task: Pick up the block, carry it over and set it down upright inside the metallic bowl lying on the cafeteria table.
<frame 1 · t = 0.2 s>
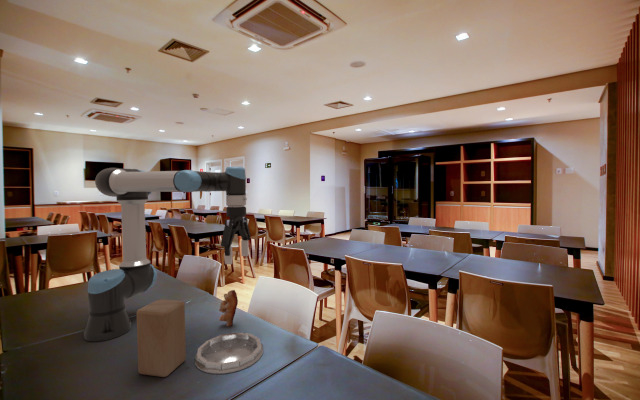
hand: (237, 259, 120), 28 cm above the table, fingers open, 13 cm apart
block: (163, 367, 95), on the table
white domed cylinder: (171, 342, 110), on the table
metallic bowl: (230, 354, 102), on the table
figurine: (228, 326, 123), on the table
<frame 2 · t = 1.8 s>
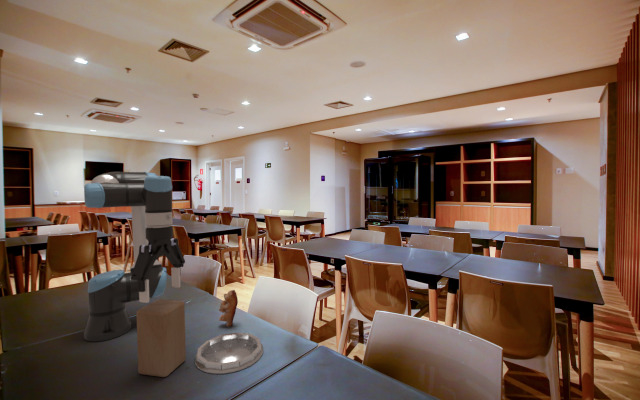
hand: (161, 294, 94), 23 cm above the table, fingers open, 13 cm apart
nothing on the table moved.
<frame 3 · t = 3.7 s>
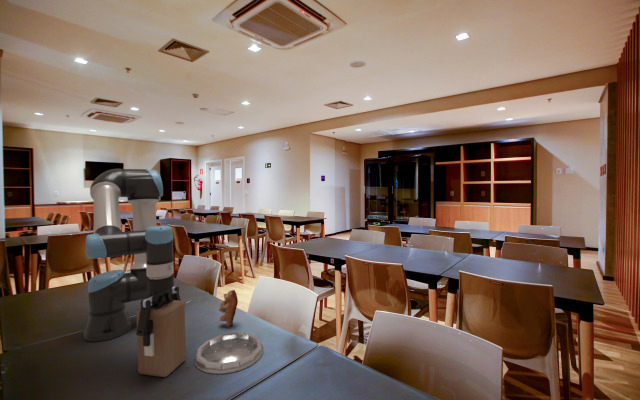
hand: (162, 346, 95), 7 cm above the table, fingers closed on block, 10 cm apart
block: (163, 367, 95), on the table, touching gripper
everything else where it was.
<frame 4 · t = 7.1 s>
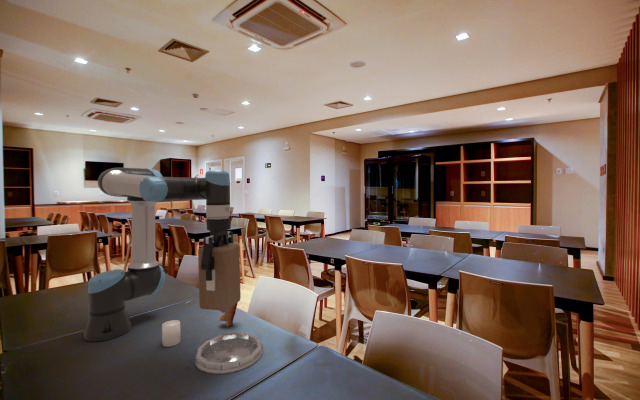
hand: (220, 284, 100), 24 cm above the table, fingers closed on block, 10 cm apart
block: (220, 305, 100), point 17 cm above the table, touching gripper
everything else where it was.
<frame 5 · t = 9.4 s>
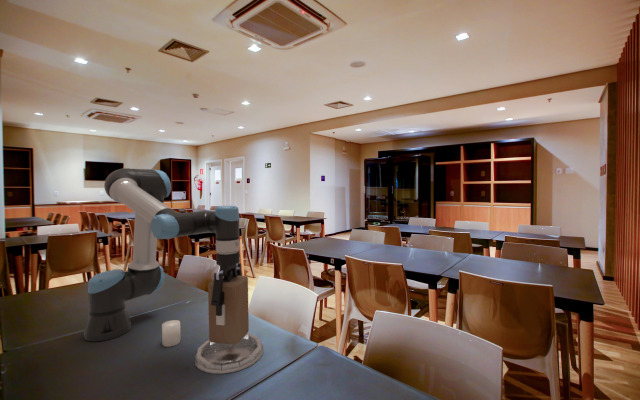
hand: (229, 317, 102), 13 cm above the table, fingers closed on block, 10 cm apart
block: (229, 337, 102), point 6 cm above the table, touching gripper
everything else where it was.
when the fingers open (9 cm above the table, at t = 10.7 s): block drops 1 cm, resting on metallic bowl.
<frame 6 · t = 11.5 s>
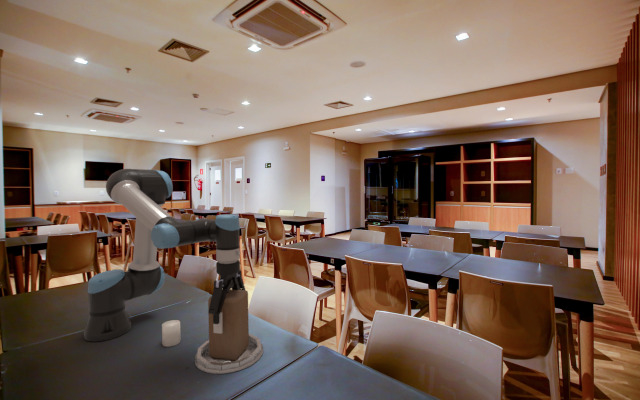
hand: (228, 323, 102), 11 cm above the table, fingers open, 13 cm apart
block: (229, 352, 102), point 1 cm above the table, touching metallic bowl
everything else where it was.
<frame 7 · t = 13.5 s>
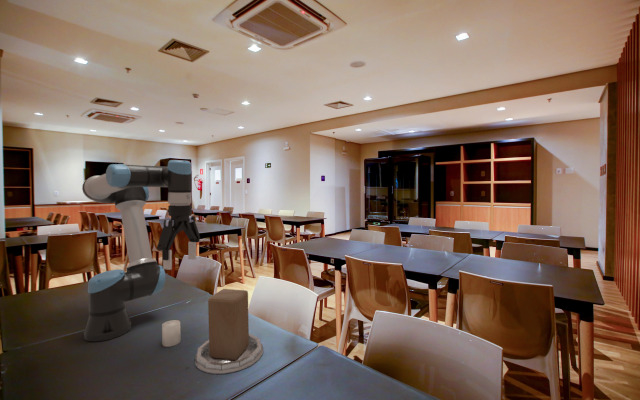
hand: (180, 263, 108), 29 cm above the table, fingers open, 13 cm apart
nothing on the table moved.
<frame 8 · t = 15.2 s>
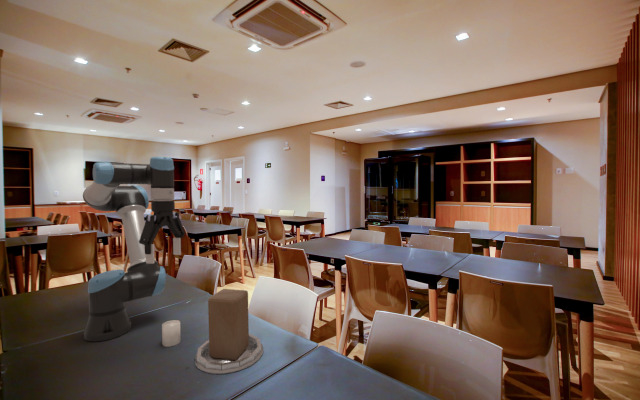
hand: (164, 258, 110), 31 cm above the table, fingers open, 13 cm apart
nothing on the table moved.
at the end: block inside the target area on the metallic bowl (0.1 cm from its centre), point 0.6 cm above the metallic bowl's base; block tilted 0°; the gripper is holding nothing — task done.
